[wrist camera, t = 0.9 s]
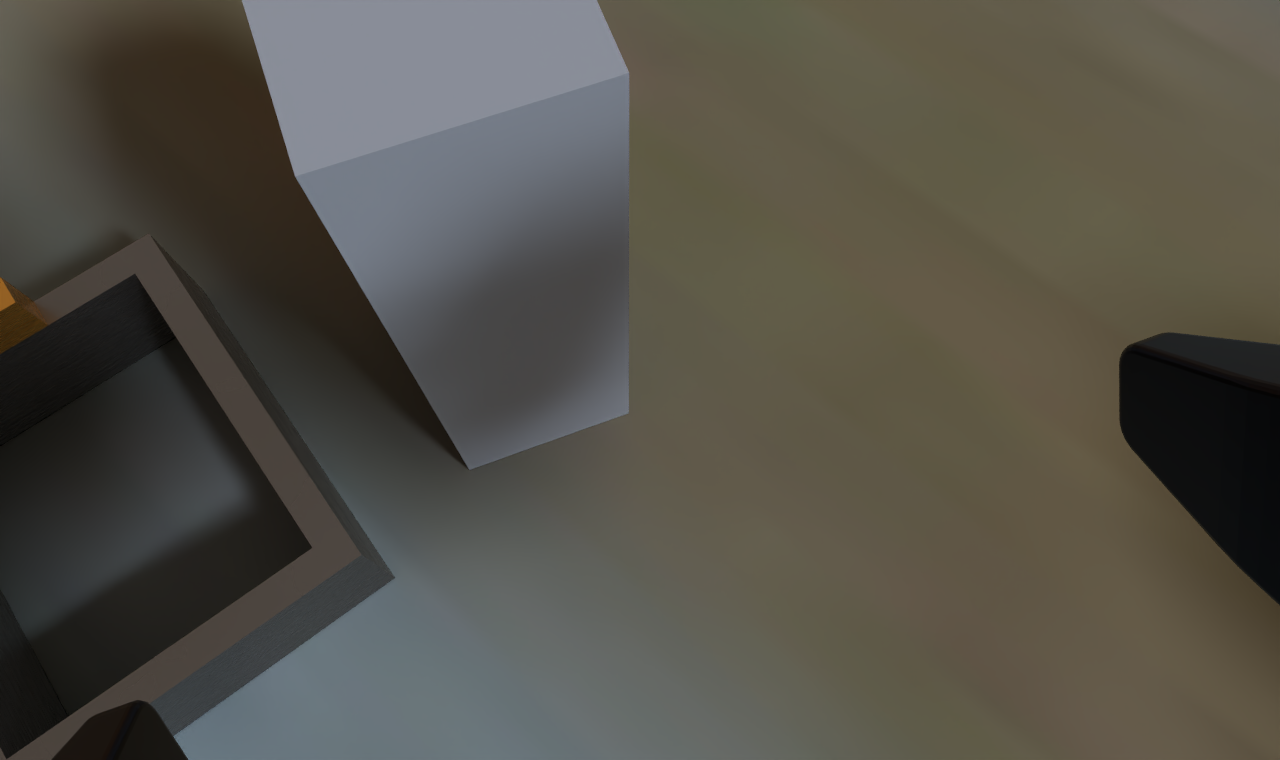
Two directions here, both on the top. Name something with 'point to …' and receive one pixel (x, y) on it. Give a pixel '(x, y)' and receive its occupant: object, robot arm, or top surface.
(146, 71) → the top surface
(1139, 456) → the robot arm
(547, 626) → the top surface
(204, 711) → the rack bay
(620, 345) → the grey rectangular prism
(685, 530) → the top surface
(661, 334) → the top surface
